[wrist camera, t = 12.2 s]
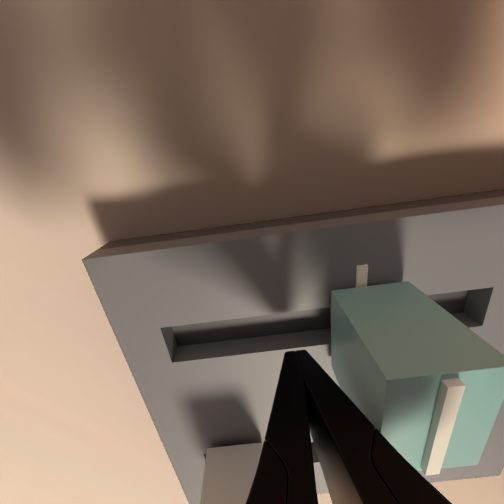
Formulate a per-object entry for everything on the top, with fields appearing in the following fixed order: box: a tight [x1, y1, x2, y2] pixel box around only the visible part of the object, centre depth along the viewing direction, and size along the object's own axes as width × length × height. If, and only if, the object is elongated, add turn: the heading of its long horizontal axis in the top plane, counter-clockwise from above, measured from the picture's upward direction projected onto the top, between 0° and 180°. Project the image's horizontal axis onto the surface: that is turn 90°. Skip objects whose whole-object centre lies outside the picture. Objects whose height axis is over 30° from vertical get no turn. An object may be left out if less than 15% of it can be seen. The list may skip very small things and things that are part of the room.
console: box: [82, 190, 504, 504], centre depth 13 cm, size 20×18×2 cm
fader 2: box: [330, 281, 504, 476], centre depth 9 cm, size 3×4×5 cm
